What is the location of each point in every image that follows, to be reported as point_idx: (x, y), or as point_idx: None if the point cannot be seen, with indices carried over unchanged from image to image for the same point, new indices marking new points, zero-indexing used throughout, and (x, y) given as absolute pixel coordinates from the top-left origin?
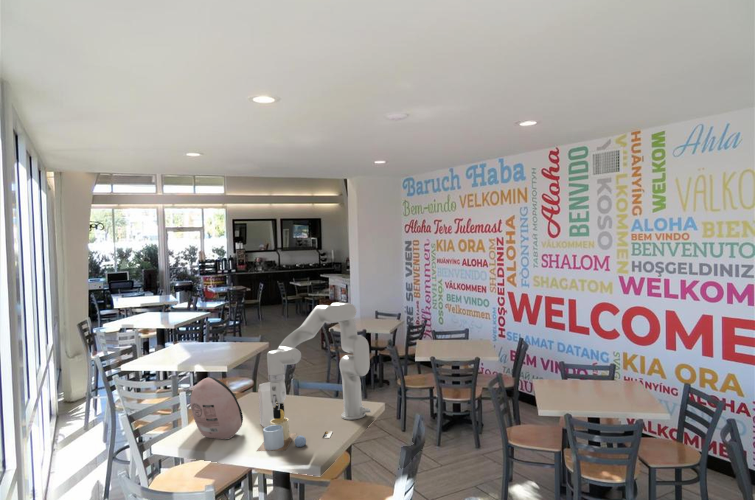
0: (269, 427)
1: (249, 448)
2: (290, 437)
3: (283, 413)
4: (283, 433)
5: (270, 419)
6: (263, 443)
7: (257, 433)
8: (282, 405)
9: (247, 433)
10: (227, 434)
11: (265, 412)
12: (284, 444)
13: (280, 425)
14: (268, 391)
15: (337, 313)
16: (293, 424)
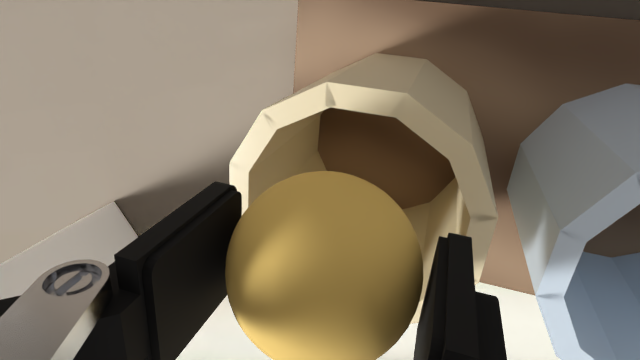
0: (574, 332)
1: (507, 354)
2: (406, 41)
3: (346, 203)
4: (472, 119)
5: (85, 258)
6: (495, 277)
7: (225, 303)
8: (134, 283)
9: (221, 354)
10: None
11: None
12: (609, 80)
13: (617, 193)
14: None
15: None
16: (62, 70)
